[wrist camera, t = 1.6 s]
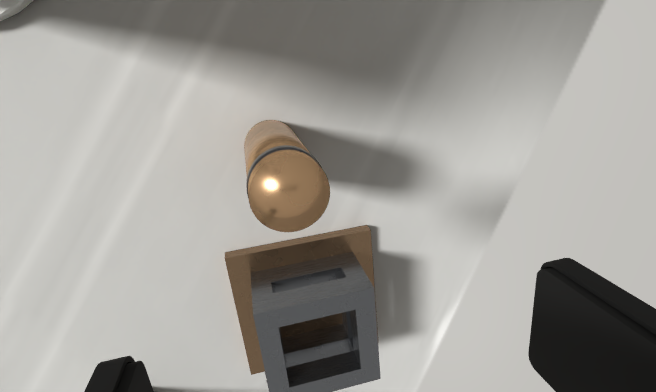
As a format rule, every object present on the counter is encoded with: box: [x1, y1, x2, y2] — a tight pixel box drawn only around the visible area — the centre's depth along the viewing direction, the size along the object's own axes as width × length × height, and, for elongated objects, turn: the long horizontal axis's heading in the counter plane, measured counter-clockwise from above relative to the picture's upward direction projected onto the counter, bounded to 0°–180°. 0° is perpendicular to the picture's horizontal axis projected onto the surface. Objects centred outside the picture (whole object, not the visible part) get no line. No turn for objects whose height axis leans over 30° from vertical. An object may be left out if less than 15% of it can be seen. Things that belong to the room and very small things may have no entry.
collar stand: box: [225, 225, 380, 392], centre depth 31 cm, size 12×12×6 cm
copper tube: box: [244, 120, 330, 232], centre depth 24 cm, size 4×4×11 cm
